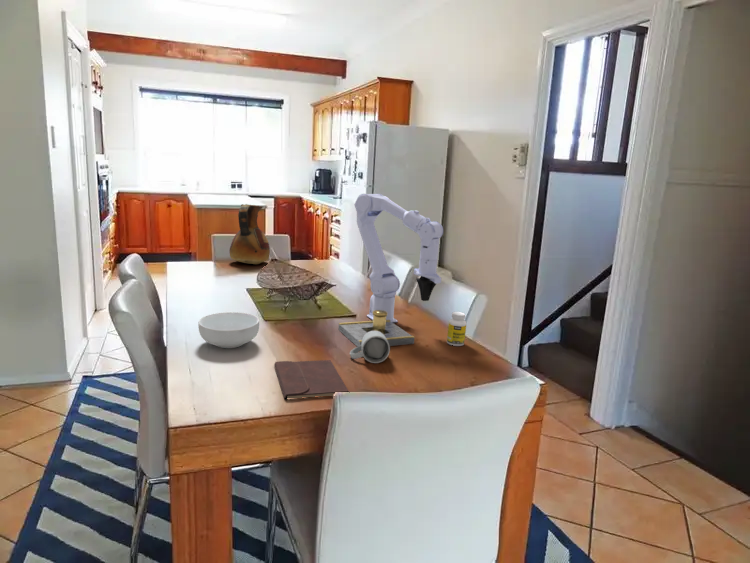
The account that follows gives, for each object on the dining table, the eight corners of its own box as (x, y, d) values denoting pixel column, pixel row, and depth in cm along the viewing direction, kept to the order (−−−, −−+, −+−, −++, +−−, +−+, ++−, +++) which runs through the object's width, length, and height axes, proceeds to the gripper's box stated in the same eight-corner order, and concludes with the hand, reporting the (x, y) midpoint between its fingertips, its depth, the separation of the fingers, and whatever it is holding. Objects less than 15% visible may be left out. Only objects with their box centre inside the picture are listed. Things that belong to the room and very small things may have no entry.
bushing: (368, 334, 165) (370, 310, 163) (381, 333, 167) (383, 309, 165) (374, 339, 161) (376, 314, 159) (388, 338, 163) (390, 313, 161)
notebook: (331, 365, 139) (331, 358, 139) (349, 397, 121) (350, 389, 121) (274, 368, 135) (274, 361, 134) (284, 402, 117) (284, 393, 116)
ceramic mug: (385, 353, 150) (386, 327, 148) (389, 363, 142) (390, 336, 140) (348, 353, 149) (349, 327, 147) (350, 363, 141) (351, 336, 139)
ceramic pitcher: (274, 261, 274) (276, 204, 268) (261, 268, 255) (262, 206, 248) (239, 258, 277) (239, 201, 270) (223, 265, 257) (223, 203, 251)
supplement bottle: (450, 346, 159) (454, 316, 157) (443, 341, 164) (446, 311, 162) (467, 346, 160) (470, 315, 158) (459, 340, 165) (462, 310, 163)
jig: (338, 329, 168) (338, 323, 168) (388, 326, 175) (389, 319, 175) (359, 348, 152) (359, 341, 152) (413, 343, 159) (414, 336, 159)
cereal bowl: (197, 335, 154) (197, 312, 153) (254, 332, 160) (254, 310, 159) (200, 356, 139) (199, 330, 137) (263, 352, 145) (263, 327, 143)
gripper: (407, 255, 173) (404, 295, 175) (428, 263, 160) (425, 306, 163) (425, 255, 175) (422, 294, 178) (448, 263, 163) (444, 305, 165)
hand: (425, 300), depth 171 cm, fingers closed
